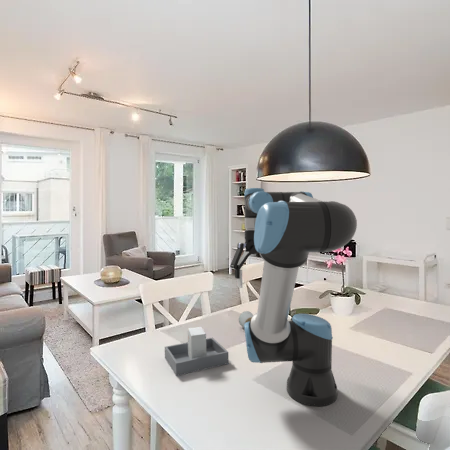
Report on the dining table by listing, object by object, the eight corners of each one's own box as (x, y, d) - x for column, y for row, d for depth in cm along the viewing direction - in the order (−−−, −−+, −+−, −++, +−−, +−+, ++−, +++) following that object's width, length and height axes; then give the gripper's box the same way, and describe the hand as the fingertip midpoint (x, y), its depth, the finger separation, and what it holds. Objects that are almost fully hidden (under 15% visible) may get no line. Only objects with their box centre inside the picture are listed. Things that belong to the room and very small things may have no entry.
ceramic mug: (244, 333, 147) (244, 317, 147) (238, 327, 155) (238, 311, 154) (265, 331, 150) (266, 314, 150) (258, 325, 158) (258, 309, 158)
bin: (228, 363, 119) (228, 352, 119) (176, 375, 111) (176, 363, 110) (212, 347, 132) (212, 337, 132) (164, 357, 124) (164, 346, 124)
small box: (206, 362, 118) (206, 334, 118) (191, 364, 117) (191, 335, 116) (202, 352, 126) (201, 326, 125) (187, 354, 125) (187, 327, 124)
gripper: (274, 227, 132) (274, 279, 133) (220, 229, 120) (221, 286, 121) (286, 228, 126) (286, 283, 127) (230, 230, 114) (231, 291, 115)
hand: (254, 285), depth 124 cm, fingers open, 13 cm apart
